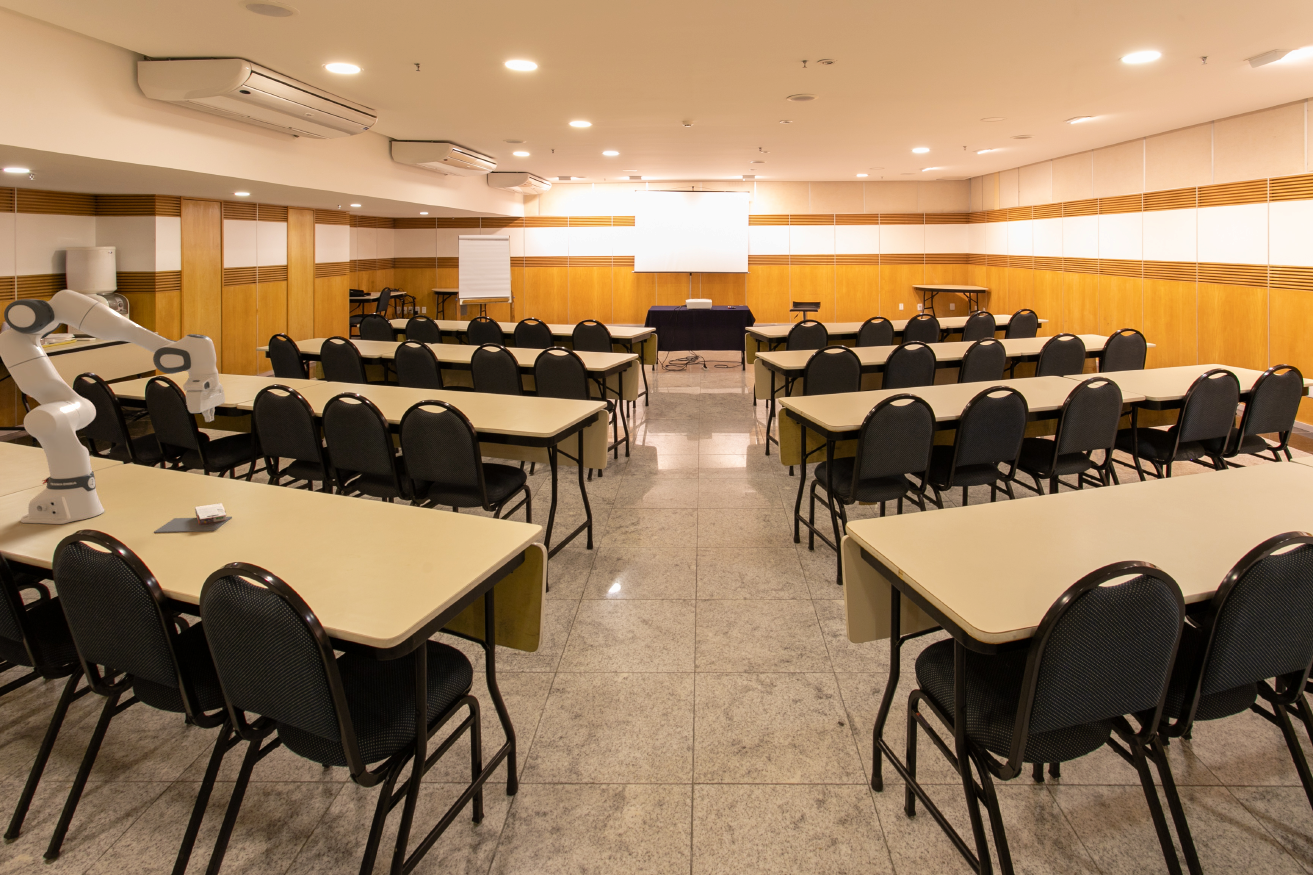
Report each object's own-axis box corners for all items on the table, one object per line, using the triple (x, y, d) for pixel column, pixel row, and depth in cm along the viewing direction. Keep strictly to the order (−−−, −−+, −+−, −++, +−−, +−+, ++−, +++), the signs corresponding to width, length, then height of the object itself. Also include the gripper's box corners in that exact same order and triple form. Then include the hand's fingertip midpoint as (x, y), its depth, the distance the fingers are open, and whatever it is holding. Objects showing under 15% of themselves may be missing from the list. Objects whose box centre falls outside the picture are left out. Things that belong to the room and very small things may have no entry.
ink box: (222, 512, 259) (228, 525, 247) (195, 516, 254) (200, 529, 243) (221, 502, 258) (227, 514, 246) (194, 506, 253) (198, 518, 242)
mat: (153, 532, 240) (153, 531, 240) (174, 519, 253) (174, 518, 253) (214, 531, 242) (214, 529, 242) (231, 517, 255) (231, 516, 255)
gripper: (208, 377, 272) (213, 415, 275) (180, 386, 252) (186, 427, 256) (227, 377, 273) (232, 415, 276) (200, 386, 253) (205, 427, 256)
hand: (209, 421), depth 266 cm, fingers closed
